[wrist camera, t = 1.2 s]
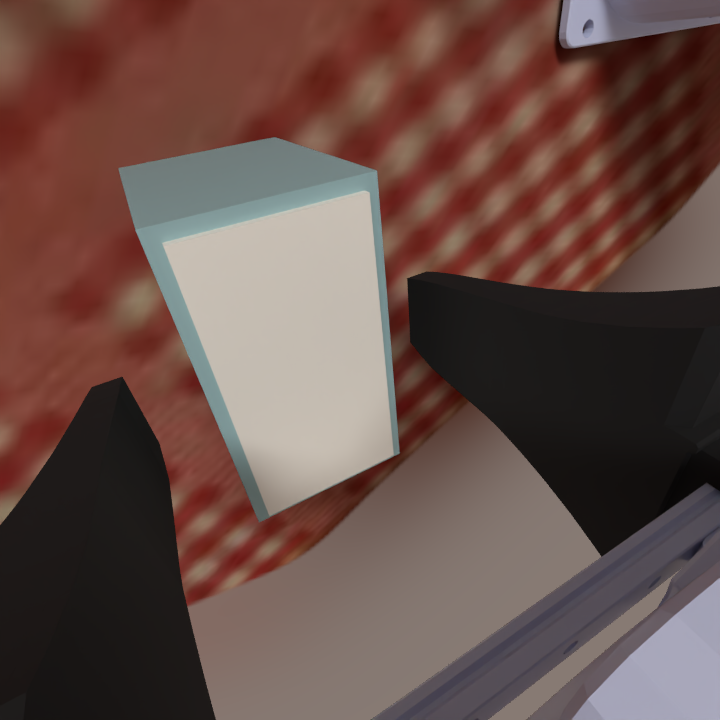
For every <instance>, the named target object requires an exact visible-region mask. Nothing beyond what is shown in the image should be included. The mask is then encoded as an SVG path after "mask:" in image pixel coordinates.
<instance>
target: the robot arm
mask: <svg viewBox="0 0 720 720" xmlns="http://www.w3.org/2000/svg"><path fill="white" fill-rule="evenodd" d="M719 23H720V0H563V8H562V15H561V23H560V30H559V40H560V44H561V46H562V47H563V48H577V47H583V46H589V45H595V44H601V43H607V42H613V41H619V40H624V39H630V38H636V37H642V36H648V35H654V34H660V33H666V32H672V31H678V30H683V29H689V28H695V27H701V26H707V25H713V24H719ZM583 27H584V31H583ZM407 281H408V302H409V322H410V342H411V343H412V345H413V346H414V347H415V348H416V350H417V351H418V352H419V353H420V355H421V356H422V357H423V358H424V359H425V361H426V362H427V363H428V364H429V365H430V366H431V367H432V368H433V369H434V370H435V371H436V372H437V373H438V374H439V375H440V376H441V377H443V378H444V379H445V380H446V381H447V382H448V383H449V384H450V385H452V386H453V387H454V388H455V389H456V390H457V391H458V392H460V393H461V394H462V395H463V396H464V397H465V398H466V399H468V400H469V401H470V402H471V403H472V404H473V405H474V406H476V407H477V408H478V409H479V410H480V411H481V412H482V413H484V414H485V415H486V416H487V417H488V418H489V419H490V420H491V421H492V422H493V423H494V424H495V425H496V426H497V427H498V428H499V429H500V430H501V431H502V432H503V433H504V434H505V435H506V436H507V438H508V439H509V440H511V442H512V443H513V444H514V445H515V446H516V447H517V448H518V450H519V451H520V452H521V453H522V454H523V455H524V457H525V458H526V459H527V460H528V461H529V462H530V464H531V465H532V466H533V467H534V468H535V469H536V470H537V472H538V473H539V474H540V475H541V476H542V478H543V479H544V480H545V481H546V482H547V484H548V485H549V487H550V488H551V489H552V490H553V492H554V493H555V494H556V495H557V497H558V498H559V499H560V501H562V503H563V504H564V506H565V507H566V508H567V509H568V511H569V512H570V513H571V515H572V516H573V517H574V519H575V520H576V522H577V523H578V524H579V526H580V527H581V528H582V530H583V531H584V533H585V534H586V535H587V537H588V538H589V540H590V541H591V542H592V544H593V545H594V546H595V548H596V549H597V551H598V552H599V553H600V555H601V558H599V559H598V560H596V561H595V562H594V563H592V564H591V565H590V566H588V567H587V568H585V569H584V570H582V571H581V572H579V573H578V574H577V575H575V576H574V577H572V578H571V579H570V580H568V581H567V582H565V583H564V584H562V585H561V586H560V587H558V588H557V589H555V590H554V591H553V592H551V593H550V594H548V595H547V596H545V597H544V598H543V599H541V600H540V601H538V602H537V603H536V604H534V605H533V606H531V607H530V608H528V609H527V610H526V611H524V612H523V613H521V614H520V615H519V616H517V617H516V618H514V619H513V620H511V621H510V622H509V623H507V624H506V625H504V626H503V627H502V628H500V629H499V630H497V631H496V632H494V633H493V634H492V635H490V636H489V637H487V638H486V639H485V640H483V641H482V642H480V643H479V644H478V645H476V646H475V647H473V648H472V649H470V650H469V651H468V652H466V653H465V654H463V655H462V656H460V657H459V658H458V659H456V660H455V661H453V662H452V663H451V664H449V665H448V666H446V667H445V668H443V669H442V670H441V671H440V672H438V673H436V674H435V675H434V676H432V677H431V678H429V679H428V680H426V681H425V682H424V683H422V684H421V685H419V686H418V687H417V688H415V689H414V690H412V691H411V692H409V693H408V694H407V695H405V696H404V697H403V698H401V699H400V700H398V701H397V702H395V703H394V704H393V705H391V706H390V707H388V708H387V709H385V710H384V711H383V712H381V713H380V714H378V715H377V716H375V717H374V718H373V719H371V720H488V719H489V718H491V717H492V716H493V715H494V714H496V713H497V712H498V711H500V710H501V709H502V708H503V707H505V706H506V705H507V704H508V703H510V702H511V701H512V700H514V699H515V698H516V697H517V696H519V695H520V694H521V693H523V692H524V691H525V690H526V689H528V688H529V687H530V686H532V685H533V684H534V683H535V682H536V681H538V680H539V679H540V678H542V677H543V676H544V675H545V674H547V673H548V672H549V671H551V670H552V669H553V668H554V667H556V666H557V665H558V664H560V663H561V662H562V661H564V660H565V659H566V658H567V657H569V656H570V655H571V654H572V653H574V652H575V651H576V650H578V649H579V648H580V647H581V646H583V645H584V644H585V643H587V642H588V641H589V640H590V639H591V638H593V637H594V636H595V635H597V634H598V633H599V632H601V631H602V630H603V629H604V628H606V627H607V626H608V625H609V624H611V623H612V622H613V621H614V620H616V619H617V618H618V617H620V616H621V615H622V614H624V613H625V612H626V611H627V610H629V609H630V608H631V607H632V606H634V605H635V604H636V603H638V602H639V601H640V600H641V599H643V598H644V597H645V596H647V595H648V594H649V593H650V592H652V591H653V590H654V589H656V588H657V587H658V586H659V585H661V584H662V583H663V582H664V581H666V580H667V579H668V578H670V577H671V576H672V575H673V574H675V573H676V572H677V571H679V570H680V569H681V568H682V567H683V568H682V569H681V570H680V571H679V572H678V573H677V574H676V575H675V576H674V577H673V578H672V579H671V582H670V584H669V587H668V590H667V592H666V595H665V596H664V598H663V599H662V601H661V603H660V604H659V606H658V608H657V609H655V610H654V611H653V612H652V613H651V614H649V615H648V616H647V617H646V618H644V619H643V620H642V621H641V622H639V623H638V624H637V625H636V626H634V627H633V628H632V629H631V630H630V631H628V632H627V633H626V634H624V635H623V636H622V637H621V638H620V639H618V640H617V641H616V642H615V643H614V644H613V645H611V646H610V647H609V648H608V649H607V650H605V651H604V652H603V653H602V654H601V655H600V656H599V657H597V658H596V659H595V660H594V661H593V662H591V663H590V664H589V665H588V666H587V667H586V668H584V669H583V670H582V671H581V672H580V673H579V674H577V675H576V676H575V677H574V678H573V679H571V680H570V681H569V682H568V683H567V684H566V685H565V686H564V687H562V688H561V689H560V690H559V691H558V692H557V693H556V694H555V695H553V696H552V697H551V698H550V699H549V700H548V701H547V702H546V703H545V704H543V705H542V706H541V707H540V708H539V709H538V710H537V711H536V712H534V713H533V714H532V715H531V716H530V717H529V718H528V719H527V720H720V287H711V288H703V289H689V290H675V291H661V292H626V293H625V292H621V293H620V292H619V293H618V292H582V291H566V290H554V289H544V288H536V287H529V286H521V285H514V284H508V283H501V282H495V281H490V280H484V279H478V278H472V277H467V276H461V275H455V274H448V273H440V272H424V273H421V274H418V275H416V276H413V277H410V278H407ZM0 720H216V719H215V715H214V712H213V708H212V704H211V700H210V697H209V693H208V689H207V685H206V682H205V678H204V674H203V670H202V666H201V662H200V658H199V654H198V650H197V646H196V642H195V638H194V634H193V629H192V625H191V622H190V617H189V612H188V608H187V604H186V600H185V595H184V591H183V586H182V580H181V574H180V568H179V559H178V550H177V542H176V533H175V525H174V516H173V507H172V499H171V491H170V483H169V478H168V474H167V470H166V466H165V462H164V459H163V455H162V452H161V448H160V444H159V442H158V440H157V438H156V436H155V435H154V433H153V431H152V429H151V427H150V426H149V424H148V422H147V420H146V418H145V417H144V415H143V413H142V411H141V409H140V408H139V406H138V404H137V402H136V400H135V399H134V397H133V395H132V393H131V391H130V390H129V388H128V386H127V384H126V382H125V381H124V379H123V377H120V378H117V379H114V380H111V381H109V382H106V383H103V384H100V385H97V386H94V387H92V388H91V389H90V391H89V393H88V394H87V396H86V398H85V399H84V401H83V403H82V405H81V406H80V408H79V410H78V412H77V413H76V415H75V417H74V419H73V420H72V422H71V424H70V425H69V427H68V429H67V430H66V432H65V434H64V435H63V437H62V439H61V440H60V442H59V444H58V445H57V447H56V449H55V450H54V452H53V453H52V455H51V456H50V458H49V459H48V461H47V462H46V464H45V465H44V466H43V468H42V469H41V471H40V472H39V474H38V475H37V477H36V478H35V480H34V481H33V483H32V484H31V485H30V487H29V488H28V490H27V491H26V493H25V494H24V495H23V497H22V498H21V499H20V501H19V502H18V503H17V505H16V506H15V507H14V509H13V510H12V511H11V512H10V514H9V515H8V516H7V518H6V519H5V520H4V521H3V522H2V524H1V525H0Z"/></svg>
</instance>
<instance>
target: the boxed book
mask: <svg viewBox="0 0 720 720" xmlns="http://www.w3.org/2000/svg"><path fill="white" fill-rule="evenodd" d="M118 169H119V173H120V176H121V180H122V183H123V187H124V191H125V194H126V198H127V201H128V205H129V209H130V212H131V216H132V219H133V223H134V227H135V230H136V232H137V235H138V237H139V239H140V242H141V244H142V247H143V249H144V251H145V254H146V256H147V258H148V261H149V263H150V265H151V268H152V270H153V273H154V275H155V277H156V280H157V282H158V284H159V287H160V289H161V291H162V294H163V296H164V299H165V301H166V303H167V306H168V308H169V310H170V313H171V315H172V317H173V320H174V322H175V325H176V327H177V329H178V332H179V334H180V336H181V339H182V341H183V343H184V346H185V348H186V351H187V353H188V355H189V358H190V360H191V362H192V365H193V367H194V369H195V372H196V374H197V377H198V379H199V381H200V384H201V386H202V388H203V391H204V393H205V395H206V398H207V400H208V403H209V405H210V407H211V410H212V412H213V414H214V417H215V419H216V421H217V424H218V426H219V429H220V431H221V433H222V436H223V438H224V440H225V443H226V445H227V447H228V450H229V452H230V455H231V457H232V459H233V462H234V464H235V466H236V469H237V471H238V473H239V476H240V478H241V480H242V483H243V485H244V488H245V490H246V492H247V495H248V497H249V499H250V502H251V504H252V506H253V509H254V511H255V514H256V516H257V518H258V521H259V522H261V521H263V520H265V519H267V518H269V517H271V516H273V515H275V514H277V513H279V512H281V511H283V510H285V509H287V508H289V507H291V506H294V505H296V504H298V503H300V502H302V501H304V500H306V499H308V498H310V497H312V496H314V495H316V494H318V493H320V492H322V491H324V490H326V489H328V488H330V487H332V486H334V485H336V484H338V483H340V482H342V481H344V480H346V479H349V478H351V477H353V476H355V475H357V474H359V473H361V472H363V471H365V470H367V469H369V468H371V467H373V466H375V465H377V464H379V463H381V462H383V461H385V460H387V459H389V458H391V457H393V456H395V455H397V454H399V440H398V428H397V415H396V403H395V390H394V378H393V365H392V353H391V340H390V328H389V315H388V303H387V290H386V278H385V266H384V253H383V241H382V228H381V216H380V203H379V191H378V178H377V170H374V169H371V168H367V167H364V166H361V165H358V164H355V163H352V162H349V161H346V160H343V159H340V158H337V157H334V156H331V155H328V154H325V153H322V152H319V151H316V150H312V149H309V148H306V147H303V146H300V145H297V144H294V143H291V142H288V141H285V140H282V139H279V138H276V137H273V138H268V139H263V140H258V141H253V142H248V143H243V144H238V145H233V146H228V147H223V148H218V149H213V150H208V151H203V152H198V153H193V154H188V155H183V156H178V157H173V158H168V159H163V160H158V161H153V162H148V163H143V164H138V165H133V166H128V167H123V168H118Z"/></svg>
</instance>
